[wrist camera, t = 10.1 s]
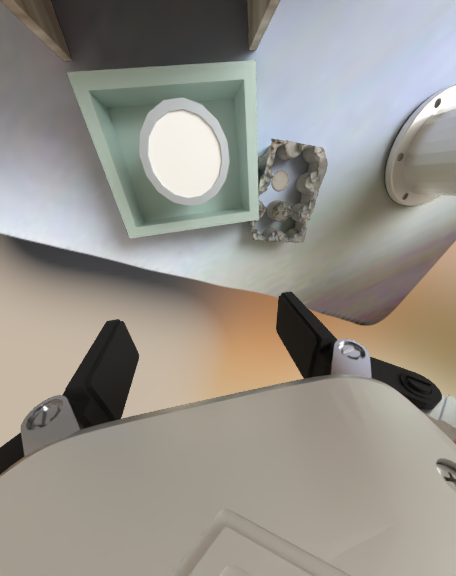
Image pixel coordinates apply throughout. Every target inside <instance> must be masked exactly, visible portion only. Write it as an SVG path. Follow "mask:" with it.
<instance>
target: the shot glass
mask: <svg viewBox="0 0 456 576" xmlns="http://www.w3.org/2000/svg"><path fill="white" fill-rule="evenodd" d="M139 155H140V158H141V161H142V164H143V167H144V170H145V174H146V176H147V177H148V179H149V180H150V181H151V183H152V184H153V186H154V187H155V188H156V190H157V191H158V192H159V193H161V194H162V195H163V196H165V197H166V198H168V199H169V200H171V201H172V202H174V203H178V204H182V205H187V206H192V205H198V204H203V203H205V202H207V201H208V200H210V199H211V198H212V197H214V196H215V195H217V193H218V192H219V190H220V189H221V187H222V185H223V184H224V182H225V181H226V177H227V172H228V167H229V162H230V159H229V151H228V143H227V139H226V137H225V135H224V132H223V130H222V128H221V126H220V124H219V122H218V120H217V119H216V118H215V117H214V116H213V115H212V114H211V113H210V112H209V111H208V110H207V109H206V108H205V107H204V106H203V105H202V104H199V103H196V102H194V101H191V100H189V99H186V98H184V97H182V98H175V99H167V100H163V101H162V102H161V103H159V104H158V105H157V106H156V107H155V108H153V109H152V110H151V111H150V112H148V114H147V117H146V119H145V121H144V124H143V126H142V128H141V131H140V147H139Z"/></svg>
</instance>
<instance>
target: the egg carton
mask: <svg viewBox="0 0 456 576" xmlns="http://www.w3.org/2000/svg"><path fill="white" fill-rule="evenodd" d="M271 140H272V144H271V145H270V146H269V147H268V149H267V151H266V153H265V154H264V155H263V156H261V157H259V158H258V169H260V170H261V171H262V173H263V175H262V176H261V178H260V184H259V188H258V197H259V195H260V194H262V193H263V192H265V191H266V190H267V187H268V186H269V184H270V180H271V178H272V177H273V178H272V187H273V188H274V190H276V191H282V190H284V189H285V188H286V186H287V184H288V182H289V177H288V174H287V173H286V172H285V171H278V172H276V173H275V174H274V176H272V171H271V167H272V165H273V162H274V158H275V152H276V150H277V154H278V156H279V157H280V158H281V159H283V160H287V159H292V158H295V157H297V156H298V155H300V153H301V152H302V151H303V157H304V160H305V161H306V162H308V163H309V167H308V171H307V173H303V174H301V175H300V176H299V178H298V179H297V182H296V188H297V190H298V192H300V193H301V194H302V197H301V201H300V202H298V203H296V204H294V205H293V206H292V207H291V208H290V205H289V204H288V203H287V202H282V201H273V202H271V203H270V204H269V206H268V208H267V215H268V217H269V218H271V219H273V220H275V221H278V222H283V221H284V220H286V219H288V218H289V216H290V217H291V218H292V219H293V220H295V226H294V228H291V229H289V230H288V231H287V232H286V233H285V234H284V233H283V232H282V231H280V230H278V229H276V228H274V227H269V228H267V229H266V230H265V231H264V233H263V235H260V232H259V231H258V230H256V229H255V228H254V223H255V222H257V220H253V221H250V226H251V227H252V230H251V232H252V233H253V239H254V240H266V241H278V242H295V243H299V242H303V241H304V238H305V233H306V230H307V223H308V221H309V220H310V217H309V216H310V214H311V213H312V212H313V211H314V205H315V201H316V198H317V196H318V192H319V188H320V185H321V183H322V180H323V178H324V176H325V173H326V170H327V159H326V155H325V151H324V149H323V148H321V147H317V146H311V145H306V144H300V143H295V142H291V141H282V140H277V139H271ZM258 201H259V200H258ZM265 212H266V208H265V207H264V205H263V203H262V202H261V201H259V219H261V218H262V216H263V215H264V213H265Z"/></svg>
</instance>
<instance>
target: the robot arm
mask: <svg viewBox="0 0 456 576" xmlns="http://www.w3.org/2000/svg"><path fill="white" fill-rule="evenodd" d="M385 182H386V188H387V191H388V193H389V196H390V197H391V198H392V199H393V200H394V201H395V202H397V203H398V204H402V205H408V206H417V205H422V204H425V203H428V202H430V201H432V200H434V199H436V198H437V197H439V196H440V195H452V196H456V85H453V86H451V87H448V88H445V89H443V90H441V91H439V92H437V93H436V94H434V95H432V96H431V97H430V98H428V99H427V100H426V101H425V102H424V103H422V104H421V105H420V106H419V107H418V108H417V110H416V111H415V112H414V113H413V114H412V115H411V116H410V118H409V119H408V120H407V122H406V123H405V124H404V126H403V127H402V129H401V131H400V132H399V134H398V136H397V138H396V140H395V142H394V144H393V146H392V149H391V151H390V155H389V158H388V161H387V166H386V174H385ZM276 330H277V333H278V335H279V337H280V338H281V340H282V342H283V344H284V345H285V347H286V349H287V350H288V352H289V354H290V356H291V357H292V359H293V361H294V362H295V364H296V366H297V368H298V369H299V371H300V373H301V375H302V376H303V378H304V379H302V380H296V381H291V382H286V383H281V384H277V385H272V386H268V387H263V388H258V389H253V390H249V391H244V392H239V393H235V394H231V395H226V396H221V397H216V398H212V399H207V400H203V401H198V402H194V403H189V404H185V405H180V406H176V407H172V408H167V409H163V410H158V411H154V412H149V413H145V414H140V415H136V416H132V417H128V418H123V419H121V417H122V414H123V410H124V407H125V403H126V400H127V397H128V393H129V390H130V387H131V383H132V380H133V376H134V373H135V370H136V366H137V363H138V359H139V354H138V351H137V349H136V347H135V345H134V343H133V341H132V339H131V336H130V334H129V332H128V330H127V328H126V326H125V323H124V322H123V321H120V320H119V319H117V320H111V321H107V322H106V323H105V325H104V326H103V328H102V330H101V331H100V333H99V335H98V336H97V338H96V340H95V341H94V343H93V345H92V346H91V348H90V349H89V351H88V353H87V355H86V356H85V358H84V359H83V361H82V363H81V364H80V366H79V368H78V369H77V371H76V373H75V374H74V376H73V377H72V379H71V381H70V382H69V384H68V386H67V387H66V390H65V392H64V394H63V395H58V396H54V397H51V398H48V399H47V400H45V401H43V402H42V403H40V404H39V405H37V406H36V407H35V408H34V409H33V410H32V411H31V412H30V413H29V414H28V415H27V416H26V418H25V419H24V421H23V423H22V425H21V433H19V434H18V435H17V436H15V437H14V438H13V439H11V440H10V441H9V442H7V443H6V444H4V445H3V446H2V447H0V576H456V398H454V397H452V396H450V395H448V396H447V397H446V396H444V395H442V394H441V392H440V390H439V389H438V388H437V387H436V385H435V384H433V383H432V382H431V381H430V380H428V379H426V378H425V377H424V376H422V375H419V374H417V373H415V372H412V371H409V370H406V369H403V368H401V367H398V366H395V365H392V364H389V363H387V362H384V361H381V360H378V359H375V358H372V357H370V355H369V352H368V350H367V349H366V348H365V347H364V346H363V345H361V344H359V343H358V342H356V341H353V340H350V339H340V340H337V339H336V338H335V337H334V336H333V335H332V334H331V332H330V331H329V330H328V329H327V328H326V327H325V326H324V325H323V324H322V323H321V322H320V321H319V320H318V319H317V317H316V316H315V315H314V314H313V313H312V312H311V311H310V310H308V309H307V308H306V307H305V305H304V304H303V303H302V302H301V301H300V300H299V299H298V298H297V297H296V296H295V295H294V294H293V293H292V292H285V293H282V294H281V296H279V300H278V312H277V325H276Z"/></svg>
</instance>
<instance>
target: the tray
mask: <svg viewBox="0 0 456 576" xmlns="http://www.w3.org/2000/svg"><path fill="white" fill-rule="evenodd" d="M67 75H68V78H69V80H70V83H71V86H72V88H73V91H74V93H75V96H76V99H77V101H78V104H79V107H80V109H81V112H82V114H83V117H84V120H85V122H86V125H87V128H88V130H89V133H90V135H91V138H92V141H93V143H94V146H95V149H96V151H97V154H98V157H99V159H100V162H101V164H102V167H103V170H104V172H105V175H106V178H107V180H108V183H109V185H110V188H111V191H112V193H113V196H114V199H115V201H116V204H117V206H118V209H119V212H120V214H121V217H122V220H123V222H124V225H125V227H126V230H127V233H128V235H129V238H130V239H131V238H138V237H144V236H151V235H158V234H165V233H172V232H179V231H185V230H192V229H199V228H206V227H213V226H219V225H226V224H233V223H240V222H247V221H253V220H259V201H258V149H257V96H256V60H250V61H234V62H218V63H202V64H187V65H171V66H155V67H139V68H123V69H107V70H92V71H76V72H67ZM182 97H184V98H186V99H189V100H191V101H194V102H196V103H199V104H202V105H203V106H204V107H205V108H206V109H207V110H208V111H209V112H210V113H211V114H212V115H213V116H214V117H215V118H216V119H217V120H218V122H219V124H220V126H221V128H222V130H223V132H224V135H225V137H226V139H227V143H228V151H229V159H230V162H229V167H228V172H227V177H226V181H225V182H224V184H223V185H222V187H221V189H220V190H219V192H218V193H217V195H215V196H214V197H212V198H211V199H210V200H208V201H207V202H205V203H203V204H198V205H192V206H187V205H182V204H178V203H174V202H172V201H171V200H169V199H168V198H166V197H165V196H163V195H162V194H161V193H159V192H158V191H157V190H156V188H155V187H154V186H153V184H152V183H151V181H150V180H149V179H148V177H147V176H146V174H145V170H144V167H143V164H142V161H141V158H140V155H139V147H140V131H141V128H142V126H143V124H144V121H145V119H146V117H147V114H148V112H150V111H151V110H152V109H153V108H155V107H156V106H157V105H158V104H159V103H161V102H162V101H163V100H167V99H175V98H182Z"/></svg>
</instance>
